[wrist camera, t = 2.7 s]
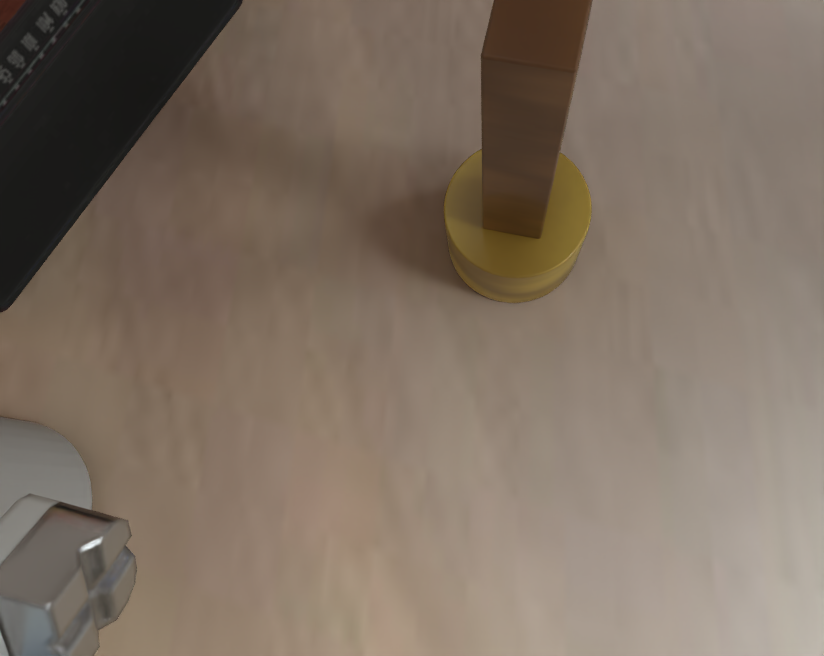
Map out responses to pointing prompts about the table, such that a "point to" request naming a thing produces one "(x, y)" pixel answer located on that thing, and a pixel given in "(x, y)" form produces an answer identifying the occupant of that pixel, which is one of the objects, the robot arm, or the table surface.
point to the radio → (81, 106)
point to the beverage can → (40, 465)
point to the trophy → (522, 157)
